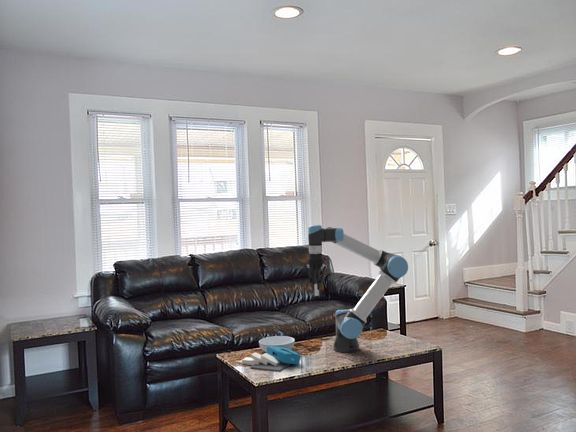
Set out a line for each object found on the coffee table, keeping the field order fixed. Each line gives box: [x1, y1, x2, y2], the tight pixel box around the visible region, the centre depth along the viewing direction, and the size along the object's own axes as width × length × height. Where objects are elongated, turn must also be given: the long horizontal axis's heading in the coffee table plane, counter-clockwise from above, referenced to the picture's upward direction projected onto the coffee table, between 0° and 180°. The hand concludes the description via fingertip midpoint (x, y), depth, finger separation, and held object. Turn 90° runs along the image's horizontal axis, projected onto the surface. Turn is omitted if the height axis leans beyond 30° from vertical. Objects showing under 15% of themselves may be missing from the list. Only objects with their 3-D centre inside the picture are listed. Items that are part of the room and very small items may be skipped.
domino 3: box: [250, 352, 269, 365], centre depth 275 cm, size 2×5×10 cm
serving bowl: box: [258, 335, 296, 353], centre depth 298 cm, size 21×21×7 cm
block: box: [265, 346, 301, 365], centre depth 277 cm, size 12×5×20 cm
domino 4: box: [260, 352, 281, 366], centre depth 273 cm, size 2×5×10 cm
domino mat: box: [249, 361, 291, 372], centre depth 272 cm, size 17×16×1 cm
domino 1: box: [238, 359, 254, 366], centre depth 278 cm, size 2×5×10 cm
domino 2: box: [241, 356, 261, 364], centre depth 276 cm, size 2×5×10 cm
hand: (316, 295), depth 284 cm, fingers closed
